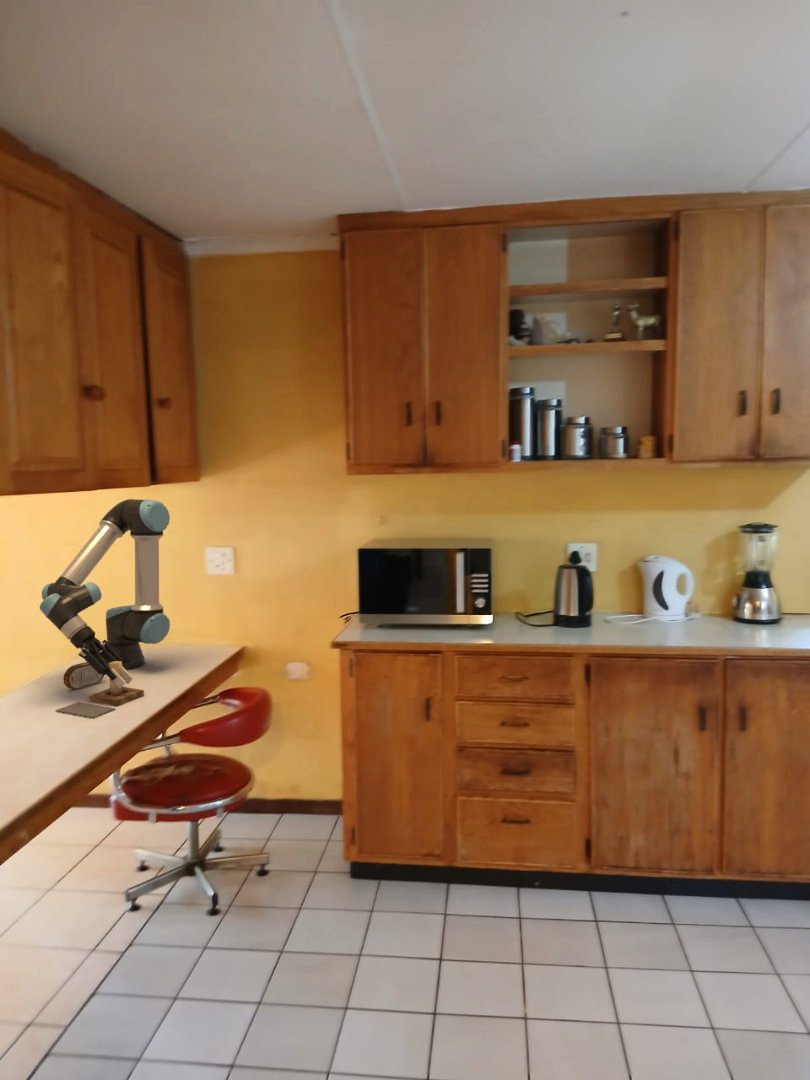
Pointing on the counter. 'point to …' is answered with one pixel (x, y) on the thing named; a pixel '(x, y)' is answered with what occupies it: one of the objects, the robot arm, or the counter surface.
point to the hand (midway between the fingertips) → (126, 683)
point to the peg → (113, 687)
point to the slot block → (107, 699)
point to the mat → (86, 709)
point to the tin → (81, 676)
